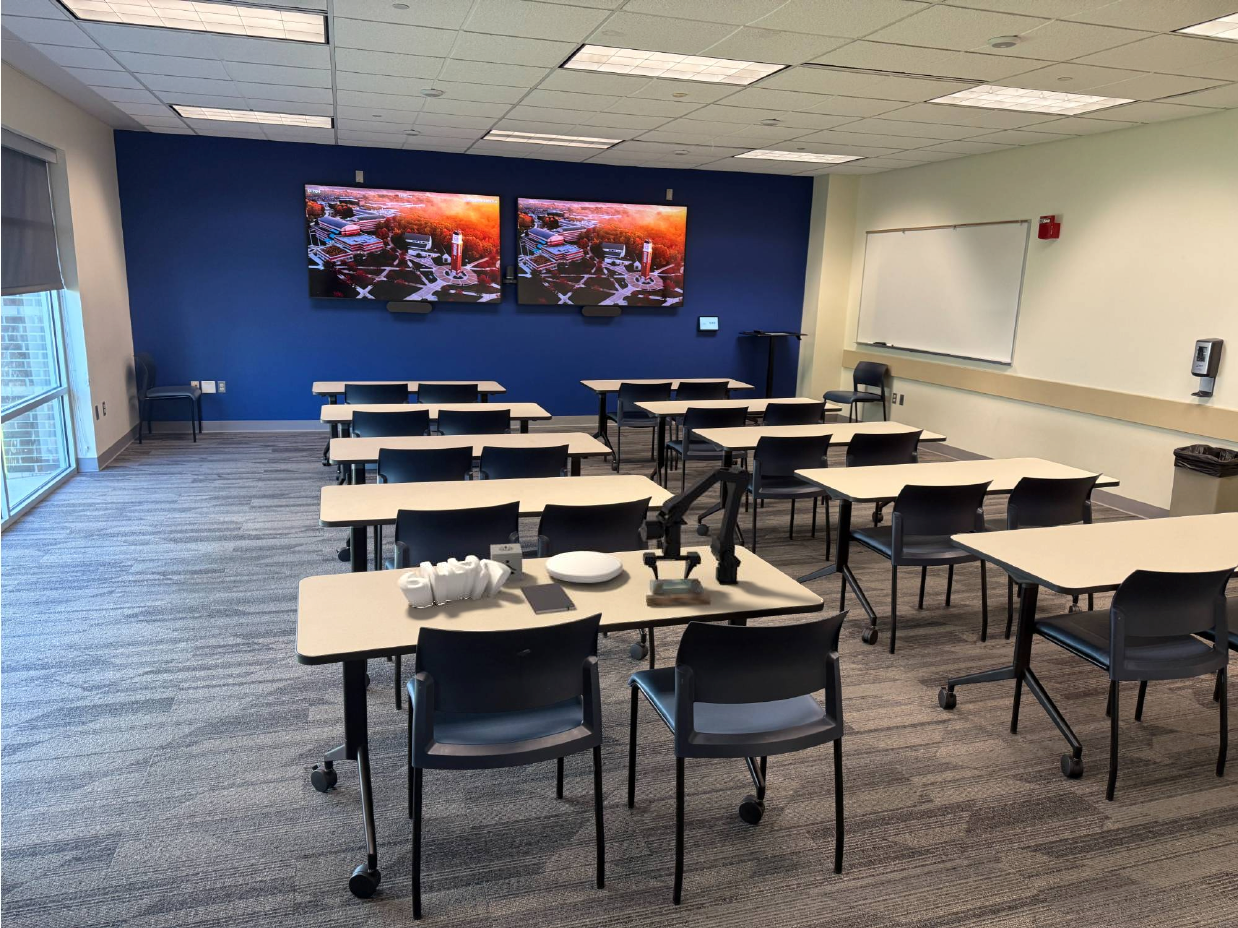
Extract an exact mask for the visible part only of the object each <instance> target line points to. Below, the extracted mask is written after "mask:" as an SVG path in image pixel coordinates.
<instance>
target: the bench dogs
mask: <svg viewBox="0 0 1238 928" xmlns="http://www.w3.org/2000/svg"><path fill="white" fill-rule="evenodd" d="M701 585H702V582H701V580H699V579H698V580H692V581H691V584H690V594H665V595H663V582H662V581H654V582H653V595H652V594H646V595H645V604H646V603H647V604H646V606H647V607H649V606H648V605H651V606H650V607H654V606H655V607H657V606H659V605H660V606H686V605H687V606H689V605H692V606H693V605H696V604H697V605H710V604H711V595H710V593H703V594H700V587H701ZM697 605H696V606H697ZM660 606H659V607H660Z"/></svg>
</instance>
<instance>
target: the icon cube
mask: <svg viewBox="0 0 1238 928" xmlns="http://www.w3.org/2000/svg"><path fill="white" fill-rule="evenodd" d="M489 550H490V560H492V561H496V562H499V563H502V564H504V565H506V566H507V567H508V568H509V569H510V570H511V573H510V574H509V576H508V577H507V579H506V581H505V582H504V583H507V582H509V583H510V582H521V581H522V582H523V551H522V548H521V544H520V543H505V544H490V549H489Z"/></svg>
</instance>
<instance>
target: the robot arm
mask: <svg viewBox="0 0 1238 928" xmlns="http://www.w3.org/2000/svg"><path fill="white" fill-rule="evenodd" d="M751 481H752V474H751V473H750V471H749V470H747V469H745V468H742V467H741V466H737V465H734V466H733V465H732V467H716V466H711V467H710V468H709V469H708V471H707V472H705V473H704V474H703V475H702V476H700V478H698V479H697V480H695V482H693V483H692V484H691V485H690V486H688V487H687V488H686V489H685V490H684V491H682V492H680V493H678V494H674V495H673V496H671V497H669V498H668V499H665V501H663V502H662V507H661V508H660V510H659V511H658V513H657V514H656V516H655V518H654V519H653V518H652V519H643V521H642V524H641V526H640V529H639V530H640V537H641V539H642V541H643V542H645V541H646V542H648V541H655V549H656V550H661V554H659V555H658V554H657V555H656V552H654V551H649V552H646V551H645V552H643V553H642V562H643V565H644V566H645V567H646V566H647V567H648V568H649V569H652V572H653V575H654V580H658V579H659V569H658V565H657V562H684V563H685V566H684V575H683V579H689V577H690V575H691V573H692V571H693V569H694V568H697V567H698V565H701V564H702V557H701V555H700V553H699V552H698V551H697V550H696V551H695V550H693V551H686V553H685V554H681V553H682V551H681V550H682V549H681V548H682V547H681V546H682V526H687V525H688V524H689V523H688V522H687V521H686V519H685V518H684V516H685V515H686V513H688V511H689V510H690V507H691V505H692V504H693V503H694V502H696V501H697V500H698V499H699V498H700V497H701V496H703V495H704V494H705V493H706V492H708V490H710V489H711V488H713V487H714V486H715V485H716V484H718V483H719V482H725V483H726V487H727V488H726V489H727V496H726V502H725V506H724V510H723V516H722V518H721V519H722V520H721V526H720V531H719V533H718V534H717V535H716V537H715V536H712V537H711V544H710V546H709V548H710V553H711V555H712V556H713V557H714V558H715V561H716V562H717V566H716V567H715V579H716V581H717V583H718V584H719V585H738V584H739V581H738V569H739V568H740V567H741V564H742V560H740V558H738V556H737V555H736V545H735V543H736V542H735V537H734V536H735V532H736V526H737V522H738V517H739V513H740V507H741V503H742V499H743V496H744V495H745V493H746V492H747V490H748V489H749V486H750V484H751Z"/></svg>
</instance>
